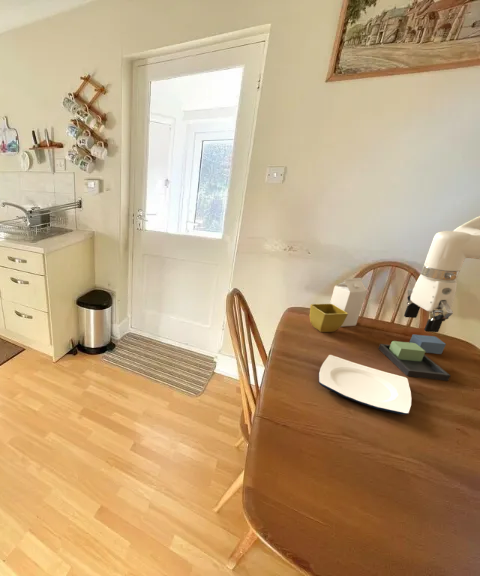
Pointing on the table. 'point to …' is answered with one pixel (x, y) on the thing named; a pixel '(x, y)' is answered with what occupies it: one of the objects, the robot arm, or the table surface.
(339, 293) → the milk carton
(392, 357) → the tray
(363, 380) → the plate
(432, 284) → the robot arm
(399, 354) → the sage pad
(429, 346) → the blue block
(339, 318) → the flower pot
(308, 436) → the table surface
